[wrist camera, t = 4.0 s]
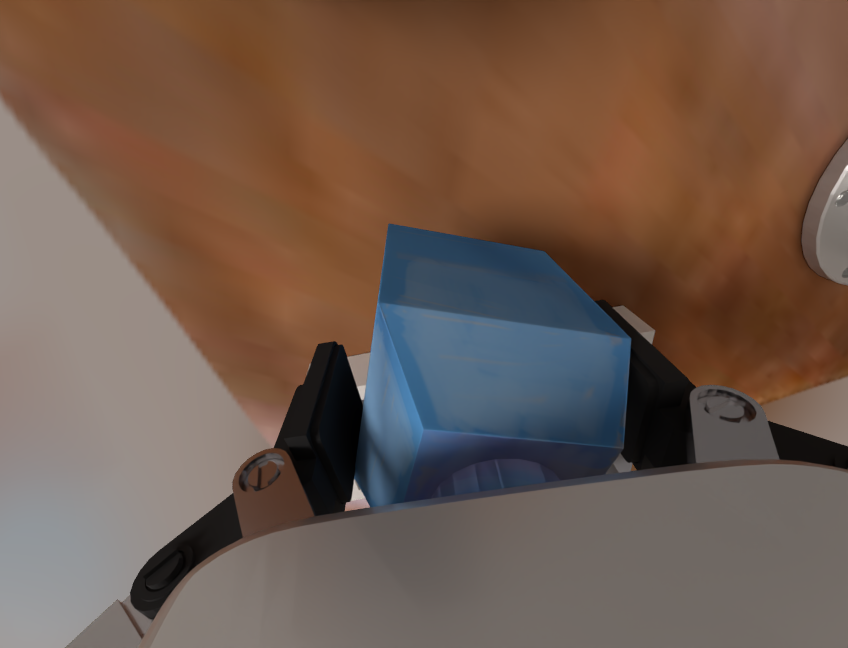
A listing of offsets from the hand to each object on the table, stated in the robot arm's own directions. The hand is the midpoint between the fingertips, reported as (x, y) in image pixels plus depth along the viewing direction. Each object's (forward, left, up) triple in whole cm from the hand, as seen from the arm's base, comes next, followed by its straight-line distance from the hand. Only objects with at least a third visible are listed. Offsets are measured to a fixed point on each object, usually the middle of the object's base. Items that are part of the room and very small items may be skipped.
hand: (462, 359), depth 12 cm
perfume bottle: (0, 0, -4) cm, 4 cm away
